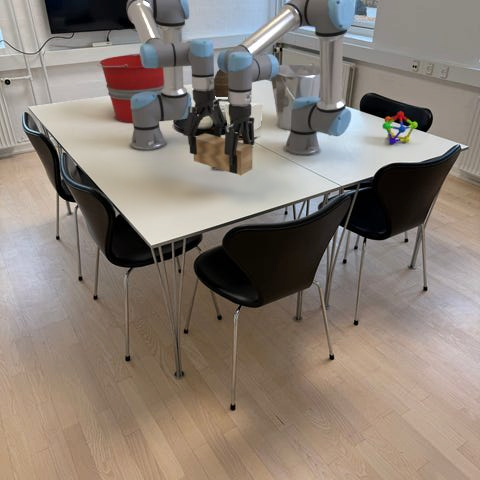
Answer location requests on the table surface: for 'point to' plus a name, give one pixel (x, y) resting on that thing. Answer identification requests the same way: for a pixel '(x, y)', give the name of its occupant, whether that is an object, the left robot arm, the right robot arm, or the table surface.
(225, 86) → the bell
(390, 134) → the educational toy
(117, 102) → the bucket
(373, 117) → the table surface
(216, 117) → the left robot arm
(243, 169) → the box
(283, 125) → the bucket
